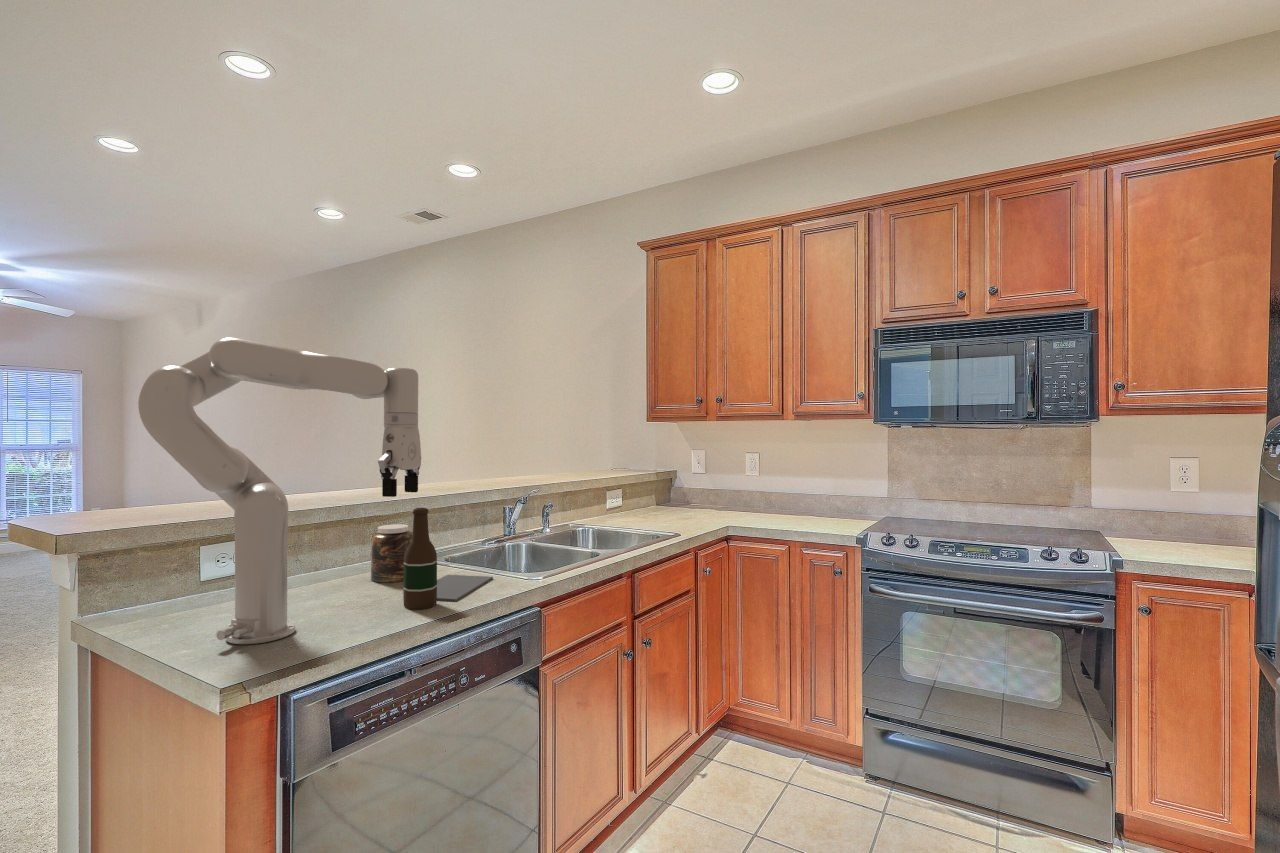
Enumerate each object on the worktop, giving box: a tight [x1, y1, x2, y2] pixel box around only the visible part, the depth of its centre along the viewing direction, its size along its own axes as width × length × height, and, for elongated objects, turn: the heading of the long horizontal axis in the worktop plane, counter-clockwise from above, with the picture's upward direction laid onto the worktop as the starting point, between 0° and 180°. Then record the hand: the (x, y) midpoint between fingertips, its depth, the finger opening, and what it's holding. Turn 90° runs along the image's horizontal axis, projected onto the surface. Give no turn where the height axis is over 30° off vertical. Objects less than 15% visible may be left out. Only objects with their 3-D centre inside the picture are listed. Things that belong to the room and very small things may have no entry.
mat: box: [436, 574, 494, 602], centre depth 172 cm, size 24×14×1 cm, turn 171°
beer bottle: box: [402, 507, 438, 611], centre depth 155 cm, size 8×8×24 cm
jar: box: [370, 523, 413, 584], centre depth 183 cm, size 12×12×15 cm
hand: (400, 494), depth 147 cm, fingers open, 9 cm apart
